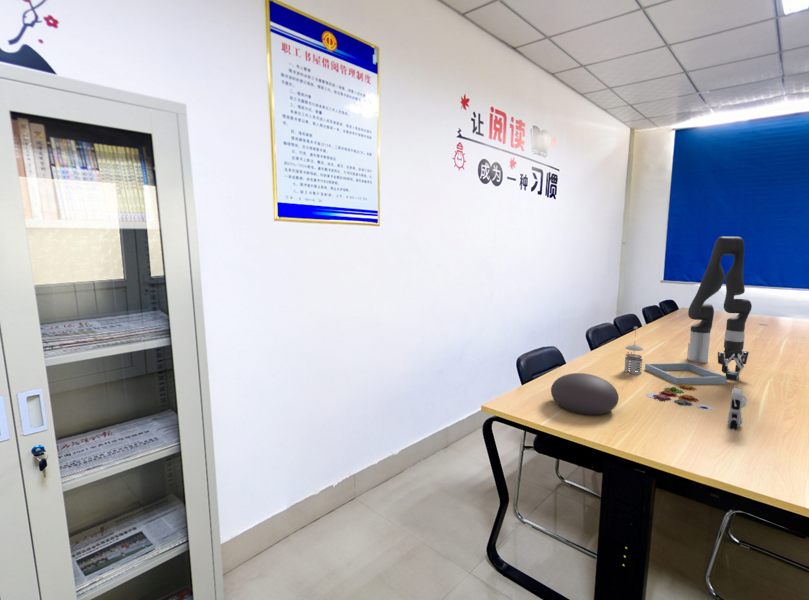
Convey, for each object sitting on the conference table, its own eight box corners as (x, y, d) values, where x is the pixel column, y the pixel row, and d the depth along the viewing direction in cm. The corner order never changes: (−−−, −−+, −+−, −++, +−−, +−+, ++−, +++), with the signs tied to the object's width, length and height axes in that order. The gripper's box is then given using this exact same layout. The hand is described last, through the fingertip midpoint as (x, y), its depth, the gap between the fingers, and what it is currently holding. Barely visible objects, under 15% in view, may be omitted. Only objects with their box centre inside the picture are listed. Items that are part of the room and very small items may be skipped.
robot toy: (742, 437, 143) (747, 395, 141) (726, 433, 146) (730, 392, 144) (744, 425, 152) (748, 386, 150) (728, 422, 155) (732, 383, 153)
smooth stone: (591, 398, 181) (593, 365, 179) (632, 421, 156) (634, 383, 155) (539, 402, 177) (540, 368, 175) (572, 427, 152) (574, 387, 150)
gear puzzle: (671, 386, 198) (671, 377, 197) (712, 394, 186) (713, 385, 185) (648, 402, 177) (649, 393, 176) (693, 413, 165) (694, 403, 164)
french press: (647, 374, 213) (650, 326, 210) (635, 379, 206) (638, 329, 203) (628, 370, 221) (631, 323, 218) (616, 374, 214) (619, 326, 211)
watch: (741, 382, 200) (742, 360, 198) (720, 378, 206) (722, 357, 205) (744, 379, 204) (745, 357, 202) (723, 375, 210) (725, 354, 208)
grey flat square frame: (644, 371, 219) (645, 363, 219) (688, 370, 220) (689, 362, 220) (676, 386, 195) (676, 378, 195) (725, 385, 196) (726, 376, 196)
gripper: (741, 337, 207) (738, 370, 209) (714, 338, 207) (711, 370, 209) (755, 340, 200) (751, 374, 202) (726, 341, 199) (723, 375, 201)
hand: (731, 372), depth 205 cm, fingers closed on watch, 6 cm apart
